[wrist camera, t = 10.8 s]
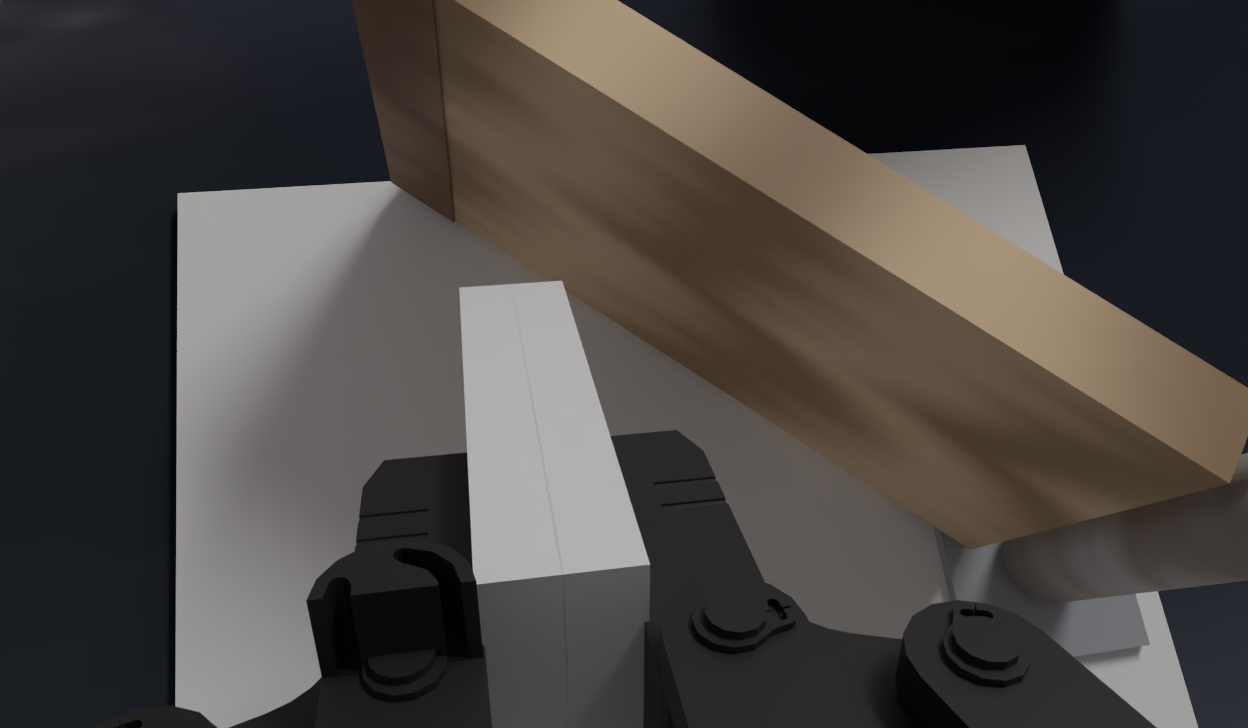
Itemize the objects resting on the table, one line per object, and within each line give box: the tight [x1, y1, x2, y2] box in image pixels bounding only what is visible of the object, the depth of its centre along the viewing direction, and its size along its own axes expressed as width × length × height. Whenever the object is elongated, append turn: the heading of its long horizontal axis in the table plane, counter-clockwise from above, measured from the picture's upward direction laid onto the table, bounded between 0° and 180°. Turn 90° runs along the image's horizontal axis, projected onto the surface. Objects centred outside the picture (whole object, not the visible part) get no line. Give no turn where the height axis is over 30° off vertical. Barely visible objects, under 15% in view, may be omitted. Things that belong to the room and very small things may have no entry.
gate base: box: [175, 145, 1198, 728], centre depth 21 cm, size 22×22×1 cm
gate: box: [352, 0, 1248, 604], centre depth 18 cm, size 19×2×9 cm, turn 58°
